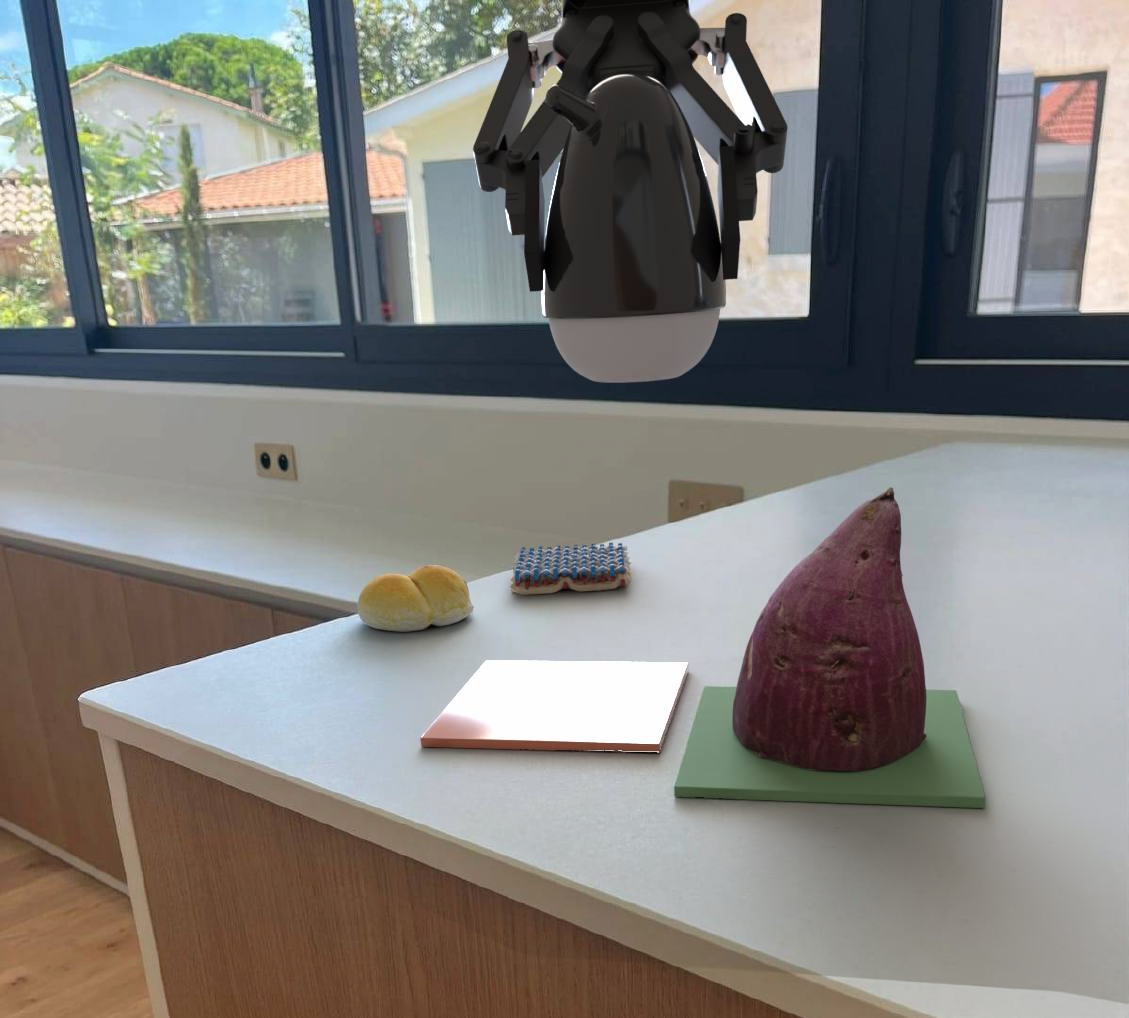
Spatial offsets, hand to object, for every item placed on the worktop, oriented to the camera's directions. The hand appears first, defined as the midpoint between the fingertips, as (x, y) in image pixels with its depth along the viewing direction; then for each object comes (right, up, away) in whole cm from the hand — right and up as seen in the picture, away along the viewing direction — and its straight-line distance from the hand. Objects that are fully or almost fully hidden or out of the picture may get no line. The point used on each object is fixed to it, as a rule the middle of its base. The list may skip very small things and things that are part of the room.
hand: (632, 266), depth 60 cm
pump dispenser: (0, -4, +5) cm, 7 cm away
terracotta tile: (-4, -23, +11) cm, 26 cm away
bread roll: (-15, -15, +32) cm, 38 cm away
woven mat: (-3, -11, +40) cm, 42 cm away
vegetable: (+11, -25, +3) cm, 27 cm away
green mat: (+11, -25, +3) cm, 28 cm away
